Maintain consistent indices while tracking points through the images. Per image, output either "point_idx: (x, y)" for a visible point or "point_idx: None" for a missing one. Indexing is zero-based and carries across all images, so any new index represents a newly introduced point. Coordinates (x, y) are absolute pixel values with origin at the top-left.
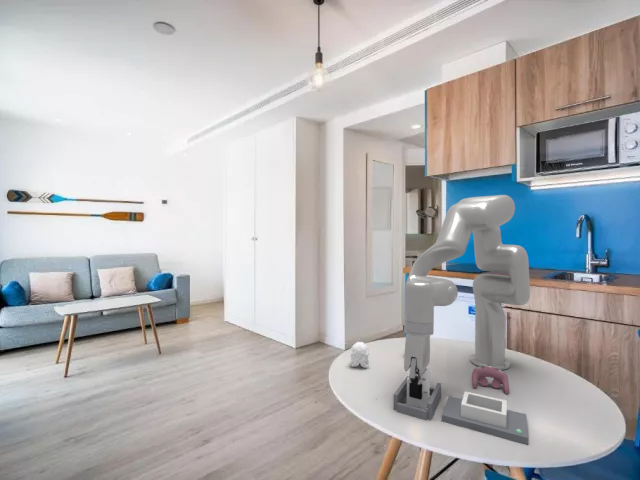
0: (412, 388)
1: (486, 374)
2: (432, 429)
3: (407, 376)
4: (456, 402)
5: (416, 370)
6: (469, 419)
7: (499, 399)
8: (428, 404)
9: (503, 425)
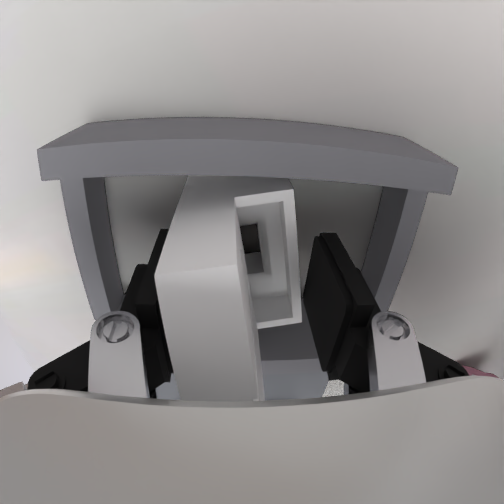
0: (127, 299)
1: None
2: (65, 316)
3: (450, 171)
4: (284, 383)
5: (372, 350)
6: None
7: None
8: None
9: None
